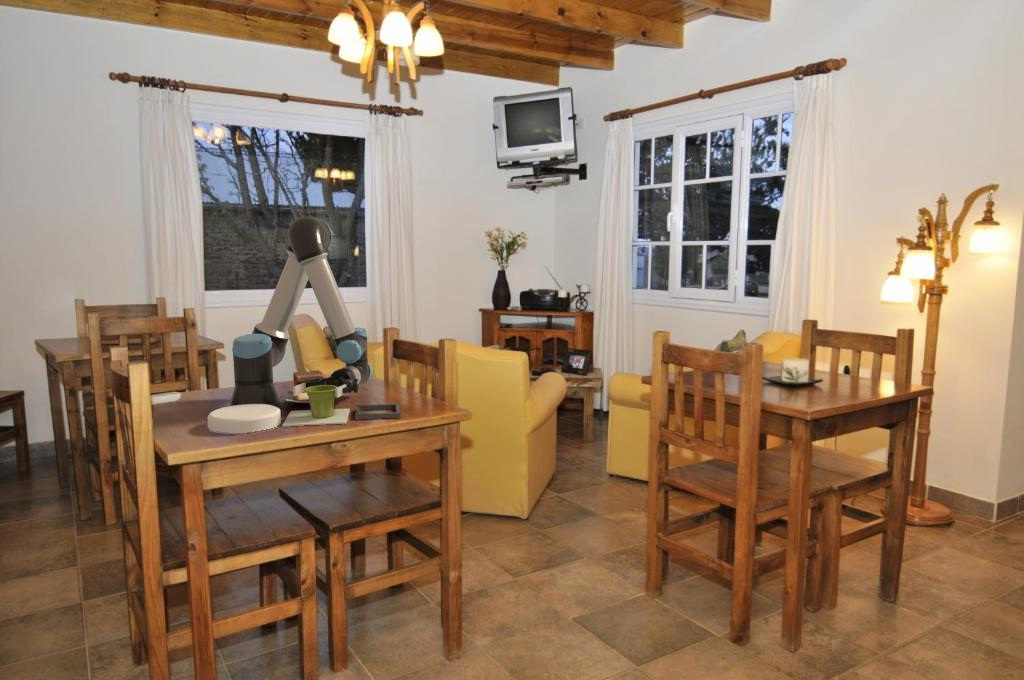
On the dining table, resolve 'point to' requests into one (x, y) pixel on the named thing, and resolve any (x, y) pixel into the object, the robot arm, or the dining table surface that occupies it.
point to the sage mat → (307, 419)
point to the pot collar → (377, 415)
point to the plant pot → (321, 400)
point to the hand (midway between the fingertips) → (315, 392)
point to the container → (244, 418)
